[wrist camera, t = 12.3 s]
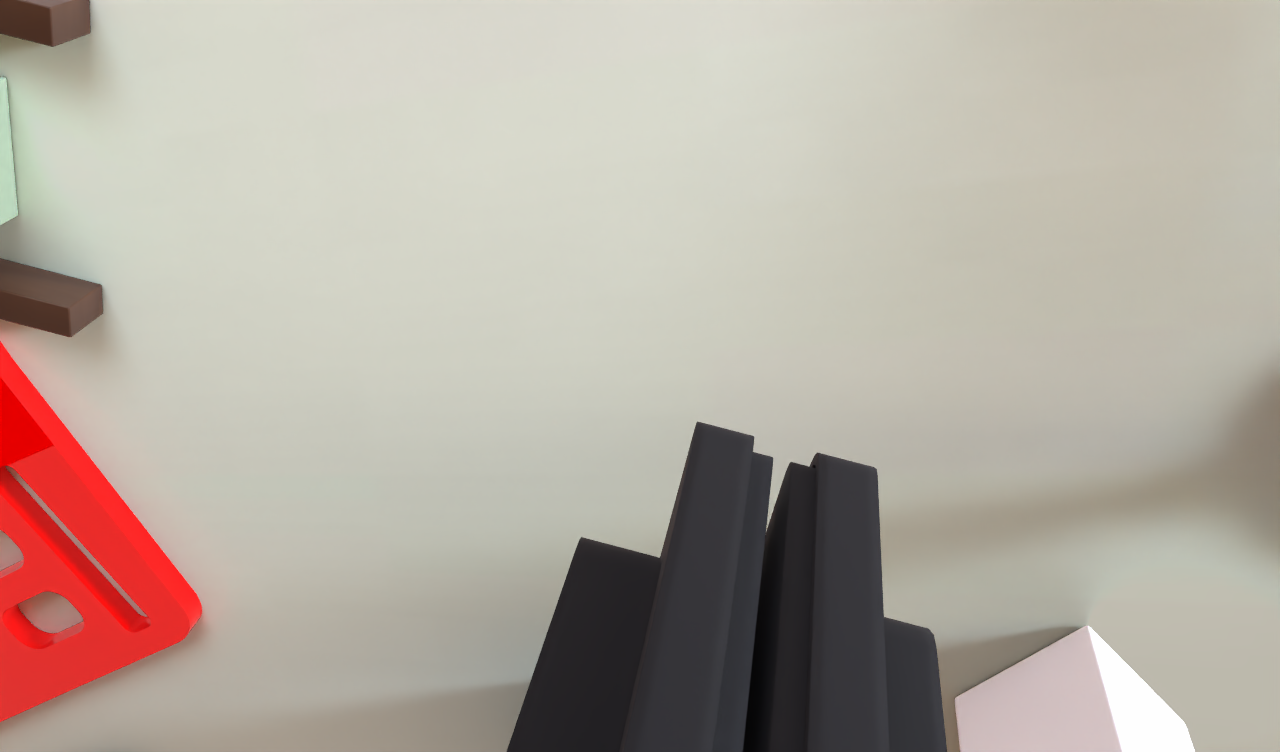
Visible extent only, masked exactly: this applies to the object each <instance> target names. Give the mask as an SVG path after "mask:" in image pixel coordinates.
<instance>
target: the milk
mask: <svg viewBox="0 0 1280 752" xmlns="http://www.w3.org/2000/svg"><path fill="white" fill-rule="evenodd" d="M955 709H956V718H957V727H958V735H959V744H960V752H1195V750H1194V747H1193V745H1192V742H1191V739H1190V736H1189V733H1188V730H1187V728H1186V725H1185V723H1184V722H1183V720H1182V719H1181V718H1180V717H1179V716H1178V715H1177V714H1176V713H1175V712H1174V711H1173V710H1172V709H1171V708H1170V707H1169V706H1168V705H1167V704H1166V703H1165V702H1164V701H1163V700H1162V699H1161V698H1160V697H1159V696H1158V695H1157V694H1156V693H1155V692H1154V691H1153V690H1152V689H1151V688H1150V687H1149V686H1148V685H1147V684H1146V683H1145V682H1144V681H1143V680H1142V679H1141V678H1140V677H1139V676H1138V675H1137V674H1136V673H1135V672H1134V671H1133V670H1132V669H1131V668H1130V667H1129V666H1128V665H1127V664H1126V663H1125V662H1124V661H1123V660H1122V659H1121V658H1120V657H1119V656H1118V655H1117V654H1116V653H1115V652H1114V651H1113V650H1112V649H1111V648H1110V647H1109V646H1108V645H1107V644H1106V643H1105V642H1104V641H1103V640H1102V639H1101V638H1100V637H1099V636H1098V635H1097V634H1096V633H1095V632H1094V631H1093V630H1092V629H1091V628H1090V627H1089V626H1084V627H1082V628H1080V629H1078V630H1077V631H1075V632H1073V633H1071V634H1069V635H1068V636H1066V637H1064V638H1062V639H1060V640H1058V641H1057V642H1055V643H1053V644H1051V645H1049V646H1048V647H1046V648H1044V649H1042V650H1040V651H1039V652H1037V653H1035V654H1033V655H1031V656H1029V657H1028V658H1026V659H1024V660H1022V661H1020V662H1019V663H1017V664H1015V665H1013V666H1011V667H1010V668H1008V669H1006V670H1004V671H1002V672H1000V673H999V674H997V675H995V676H993V677H991V678H990V679H988V680H986V681H984V682H982V683H981V684H979V685H977V686H975V687H973V688H971V689H970V690H968V691H966V692H964V693H962V694H961V695H959V696H957V697H956V698H955Z"/></svg>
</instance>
